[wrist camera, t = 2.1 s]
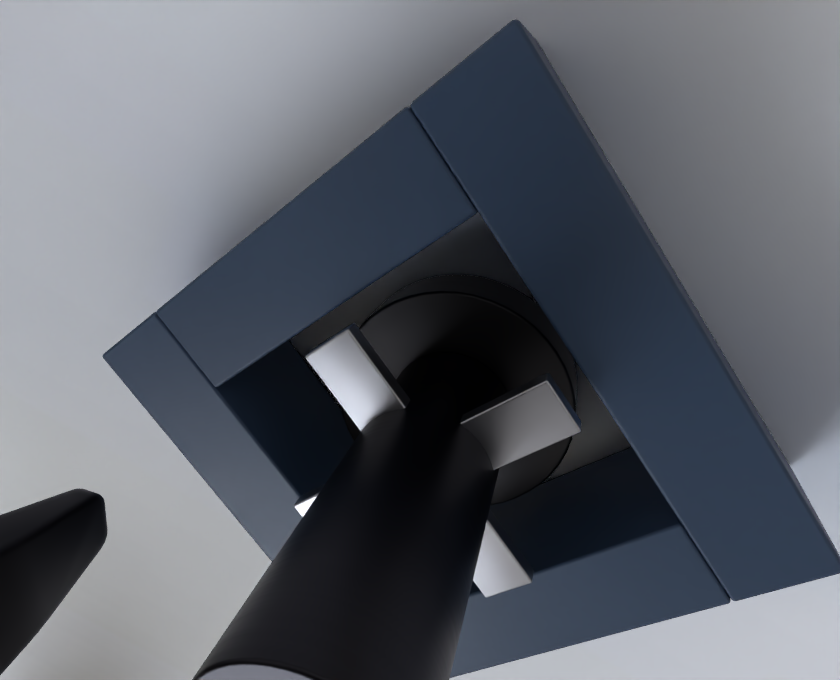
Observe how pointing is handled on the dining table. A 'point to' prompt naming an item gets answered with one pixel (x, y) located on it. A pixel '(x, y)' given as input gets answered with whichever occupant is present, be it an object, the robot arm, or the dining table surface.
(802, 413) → the dining table surface
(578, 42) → the dining table surface
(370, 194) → the blue square frame
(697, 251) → the dining table surface
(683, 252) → the dining table surface
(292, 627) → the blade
